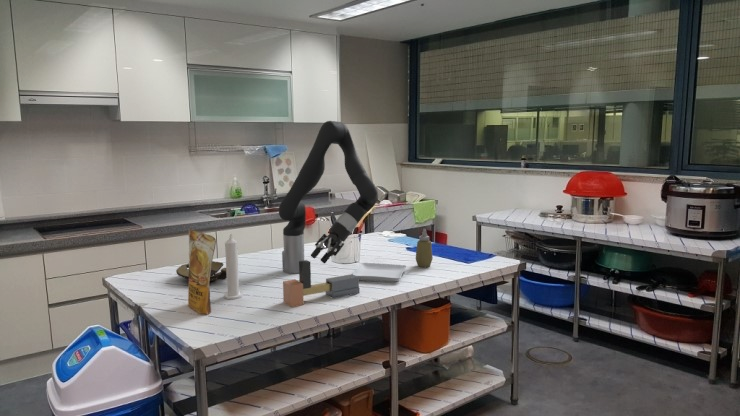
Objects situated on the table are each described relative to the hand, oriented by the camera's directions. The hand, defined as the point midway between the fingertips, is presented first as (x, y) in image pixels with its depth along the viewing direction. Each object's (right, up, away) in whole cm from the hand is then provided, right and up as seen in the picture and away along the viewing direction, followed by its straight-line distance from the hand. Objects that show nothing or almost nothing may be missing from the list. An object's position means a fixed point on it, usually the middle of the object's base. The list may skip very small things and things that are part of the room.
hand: (317, 259), depth 201 cm
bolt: (-1, -13, +1) cm, 13 cm away
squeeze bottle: (+46, -8, +49) cm, 68 cm away
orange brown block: (-9, -16, -3) cm, 18 cm away
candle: (-33, -15, +5) cm, 37 cm away
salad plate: (+24, -11, +33) cm, 42 cm away
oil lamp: (-51, -12, +27) cm, 59 cm away
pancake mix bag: (-41, -17, -8) cm, 46 cm away
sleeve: (+9, -14, +8) cm, 19 cm away
